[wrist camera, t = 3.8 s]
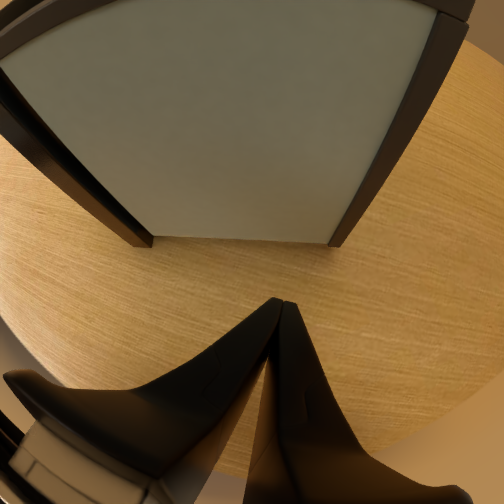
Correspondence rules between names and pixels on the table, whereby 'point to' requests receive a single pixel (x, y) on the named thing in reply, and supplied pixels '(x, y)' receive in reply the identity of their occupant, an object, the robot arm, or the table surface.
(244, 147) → the shower door
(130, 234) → the shower stall
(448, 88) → the table surface
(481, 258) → the table surface
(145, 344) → the table surface
